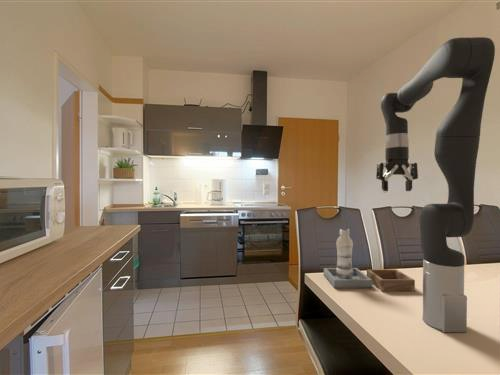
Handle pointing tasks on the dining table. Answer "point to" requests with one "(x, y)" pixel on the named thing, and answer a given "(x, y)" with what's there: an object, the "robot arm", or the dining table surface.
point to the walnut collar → (391, 280)
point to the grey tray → (356, 282)
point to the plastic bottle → (344, 255)
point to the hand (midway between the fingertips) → (397, 191)
